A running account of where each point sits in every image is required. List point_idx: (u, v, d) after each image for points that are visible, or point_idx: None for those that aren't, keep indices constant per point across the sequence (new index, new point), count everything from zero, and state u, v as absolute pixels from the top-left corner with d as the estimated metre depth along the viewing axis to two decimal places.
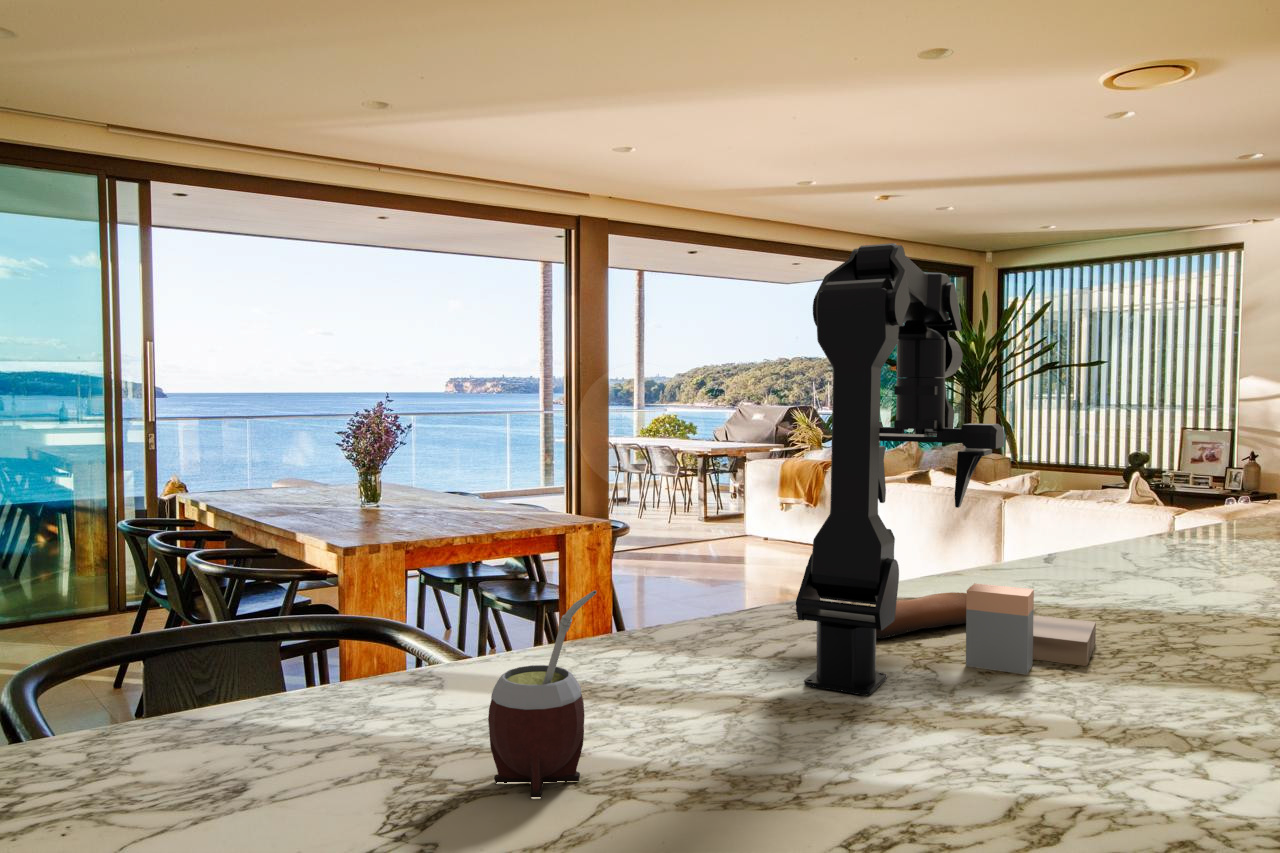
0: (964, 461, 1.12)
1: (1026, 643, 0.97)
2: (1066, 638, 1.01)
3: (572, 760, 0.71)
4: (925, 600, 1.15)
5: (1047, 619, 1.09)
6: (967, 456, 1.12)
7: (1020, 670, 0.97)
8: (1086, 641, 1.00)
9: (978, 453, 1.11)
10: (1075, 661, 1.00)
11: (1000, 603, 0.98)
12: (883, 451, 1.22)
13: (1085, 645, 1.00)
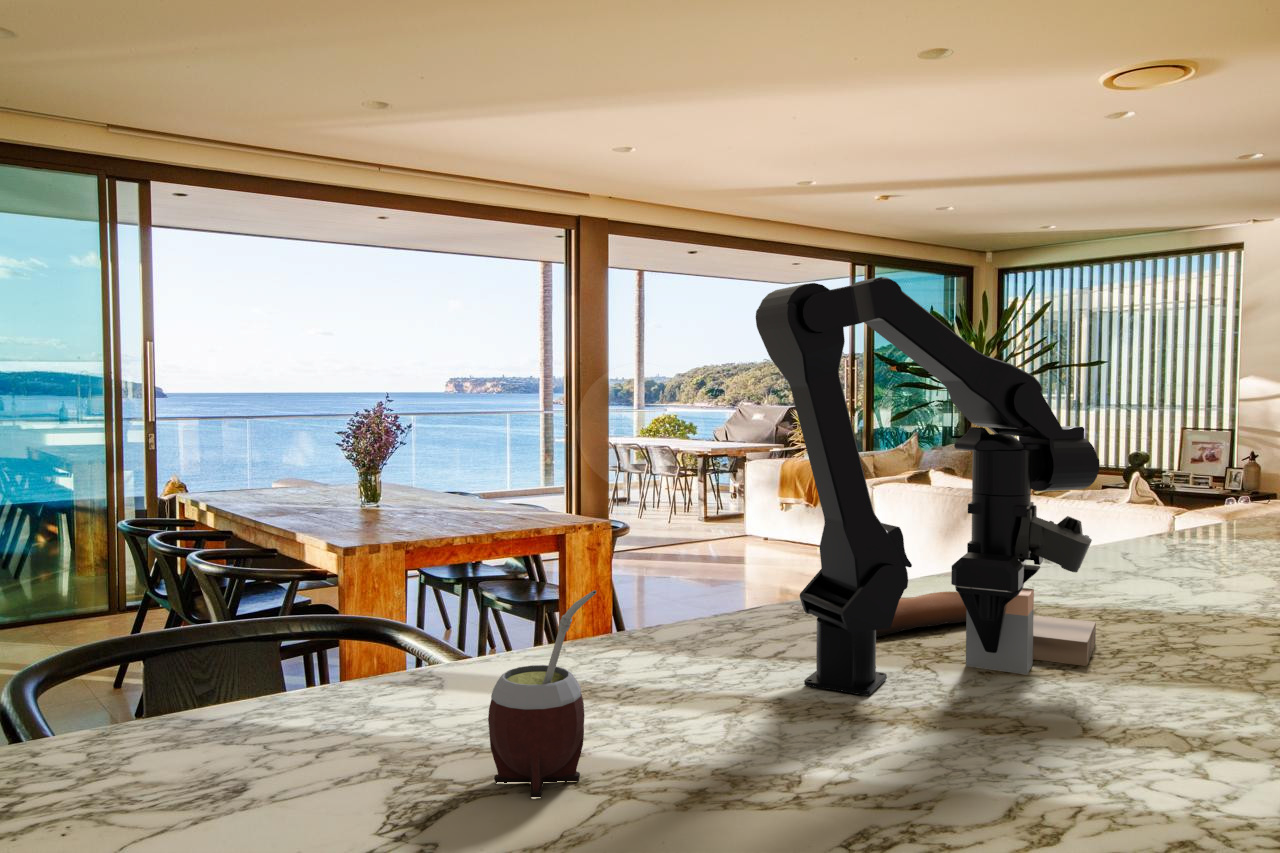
0: None
1: (1026, 643, 0.97)
2: (1066, 638, 1.01)
3: (572, 760, 0.71)
4: (921, 599, 1.15)
5: (1047, 619, 1.09)
6: None
7: (1020, 670, 0.97)
8: (1086, 641, 1.00)
9: (955, 587, 0.95)
10: (1075, 661, 1.00)
11: None
12: (1025, 575, 1.03)
13: (1085, 645, 1.00)
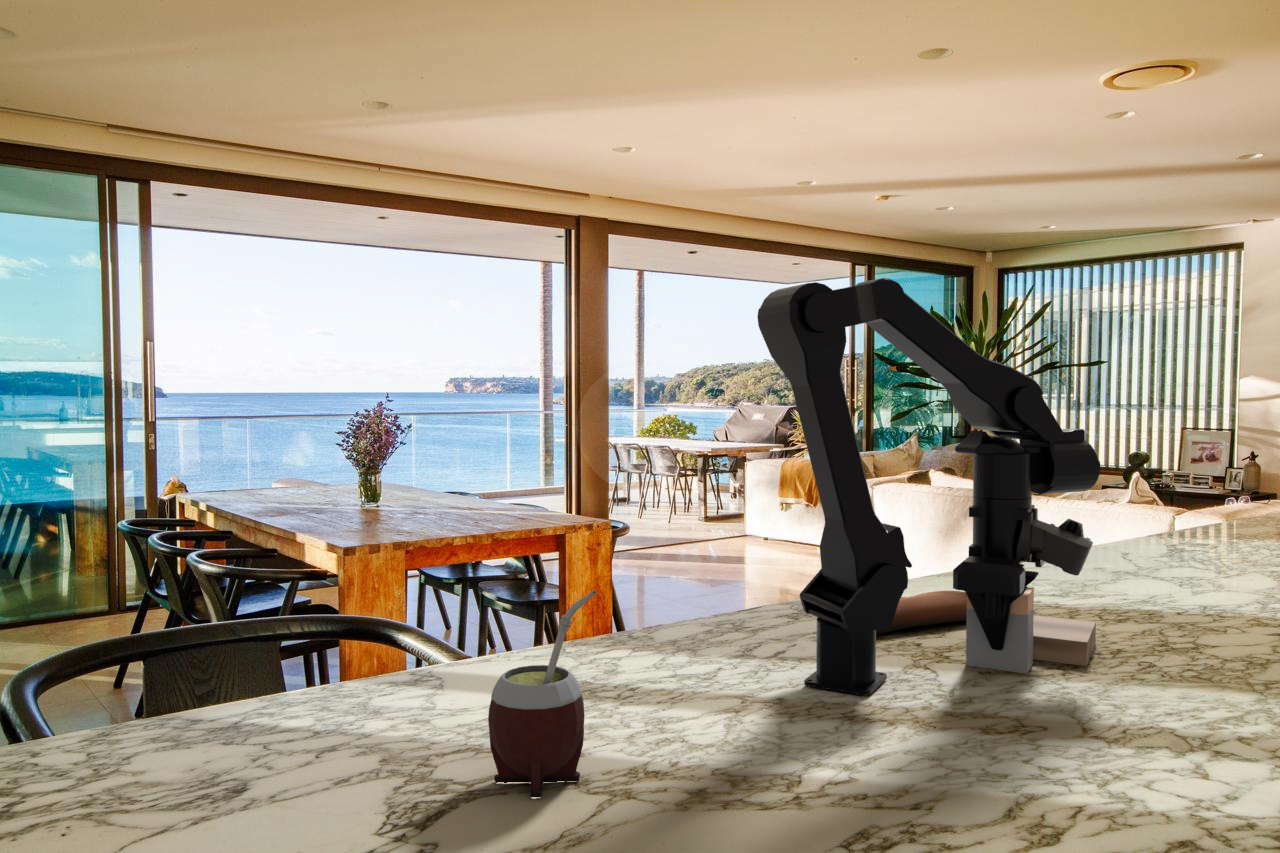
0: None
1: (1026, 642, 0.97)
2: (1066, 638, 1.01)
3: (572, 760, 0.71)
4: (918, 598, 1.16)
5: (1047, 619, 1.09)
6: None
7: (1020, 669, 0.97)
8: (1086, 641, 1.00)
9: None
10: (1075, 661, 1.00)
11: None
12: None
13: (1085, 645, 1.00)
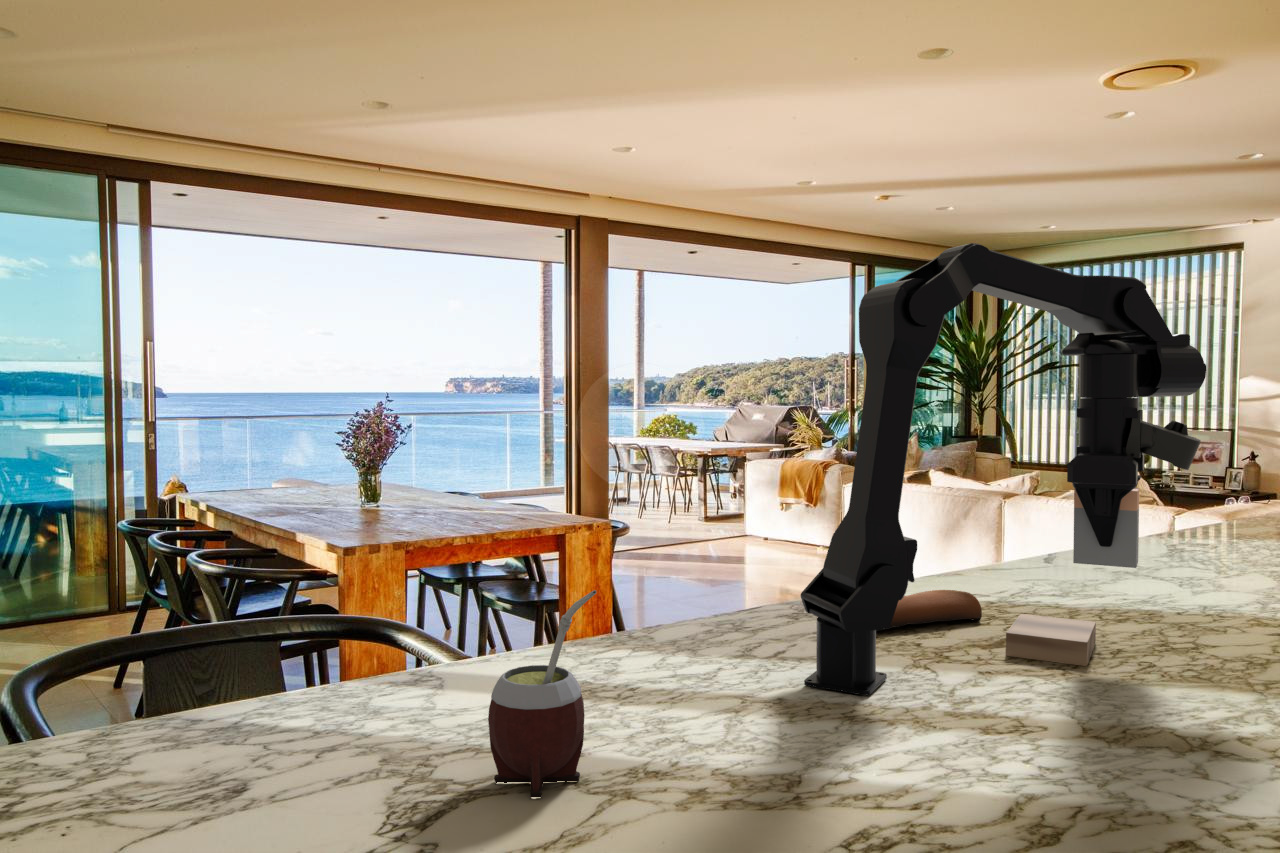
0: None
1: (1135, 537, 0.99)
2: (1066, 638, 1.01)
3: (572, 760, 0.71)
4: (914, 597, 1.17)
5: (1047, 619, 1.09)
6: None
7: (1129, 564, 1.00)
8: (1086, 641, 1.00)
9: (1072, 484, 0.99)
10: (1075, 661, 1.00)
11: None
12: None
13: (1085, 645, 1.00)
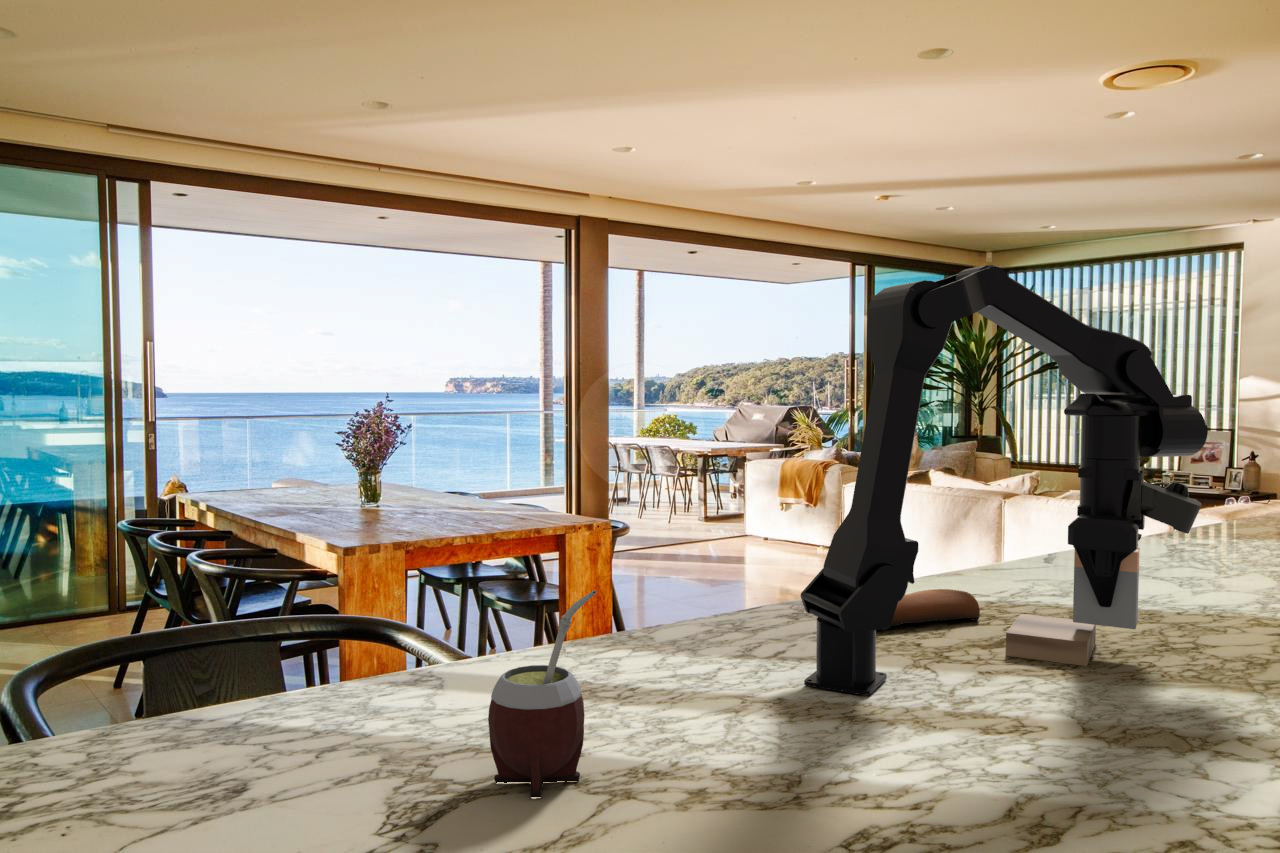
0: None
1: (1135, 599, 1.00)
2: (1066, 638, 1.01)
3: (572, 760, 0.71)
4: (911, 596, 1.17)
5: (1047, 619, 1.09)
6: None
7: (1129, 625, 1.00)
8: (1086, 641, 1.00)
9: (1072, 544, 1.00)
10: (1075, 661, 1.00)
11: None
12: None
13: (1085, 645, 1.00)
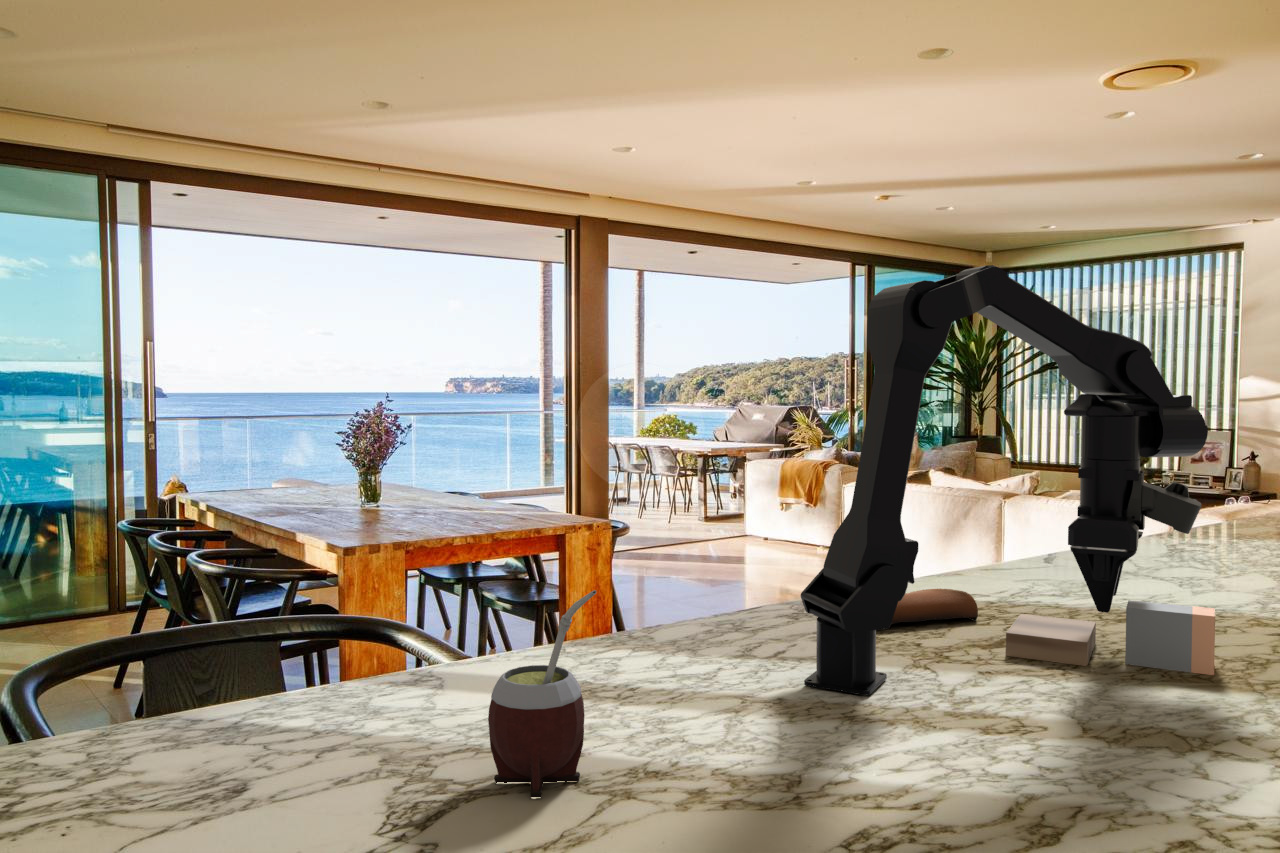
0: None
1: (1159, 667, 0.99)
2: (1066, 638, 1.01)
3: (572, 760, 0.71)
4: (909, 595, 1.18)
5: (1047, 619, 1.09)
6: None
7: (1129, 658, 1.00)
8: (1086, 641, 1.00)
9: (1070, 548, 0.98)
10: (1075, 661, 1.00)
11: (1202, 648, 0.97)
12: None
13: (1085, 645, 1.00)
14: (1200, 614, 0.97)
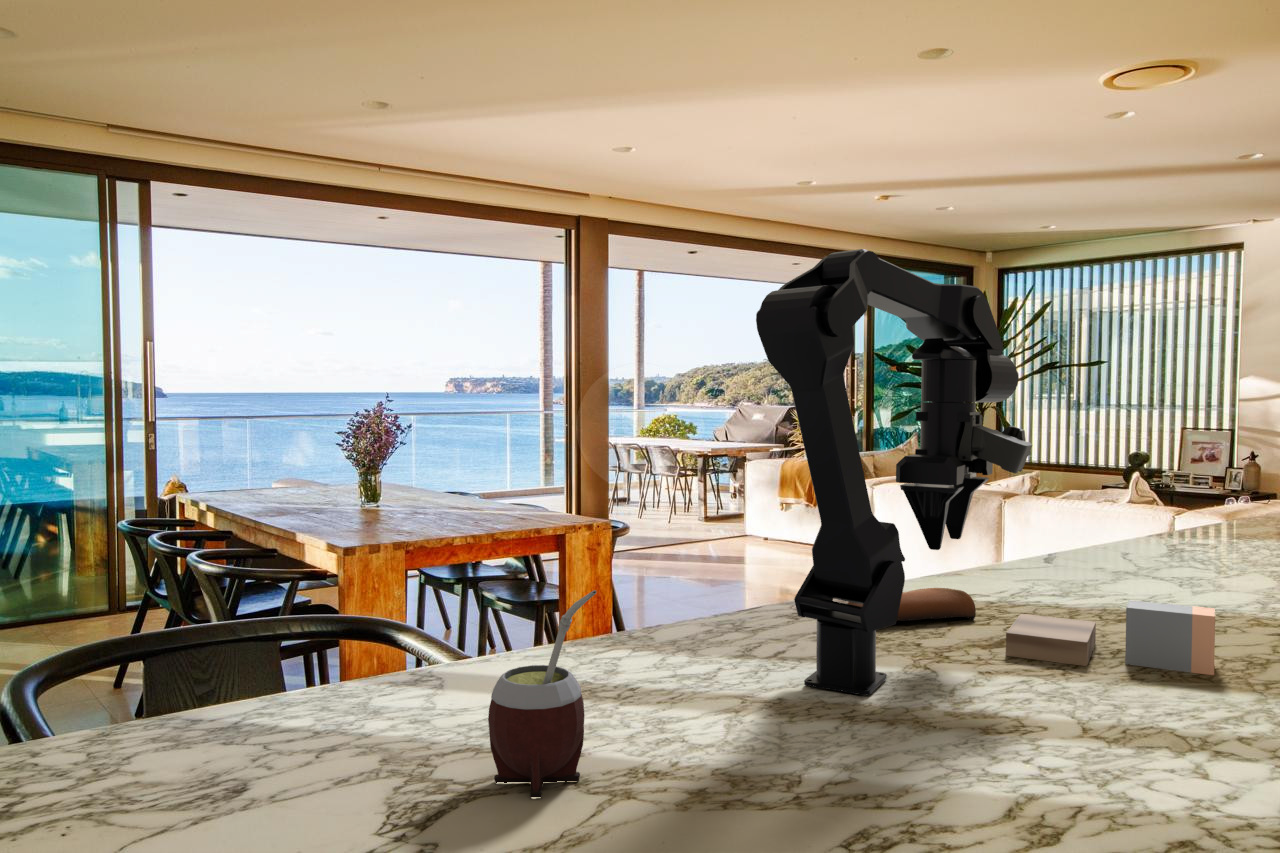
0: None
1: (1159, 667, 0.99)
2: (1066, 638, 1.01)
3: (572, 760, 0.71)
4: (905, 594, 1.18)
5: (1047, 619, 1.09)
6: None
7: (1129, 658, 1.00)
8: (1086, 641, 1.00)
9: (900, 486, 1.00)
10: (1075, 661, 1.00)
11: (1202, 648, 0.97)
12: (973, 484, 1.09)
13: (1085, 645, 1.00)
14: (1200, 614, 0.97)
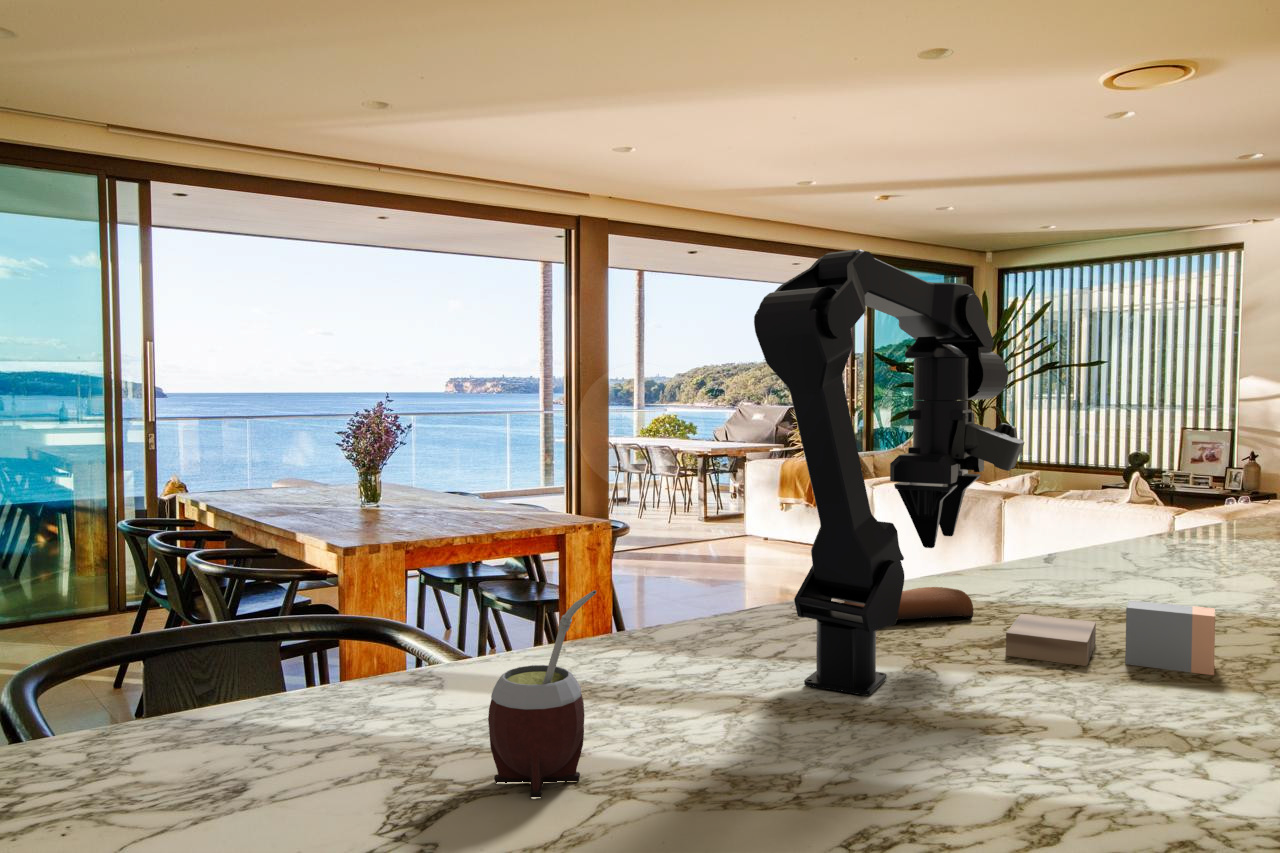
0: None
1: (1159, 667, 0.99)
2: (1066, 638, 1.01)
3: (572, 760, 0.71)
4: (903, 593, 1.19)
5: (1047, 619, 1.09)
6: None
7: (1129, 658, 1.00)
8: (1086, 641, 1.00)
9: (894, 485, 1.00)
10: (1075, 661, 1.00)
11: (1202, 648, 0.97)
12: (965, 481, 1.09)
13: (1085, 645, 1.00)
14: (1200, 614, 0.97)
